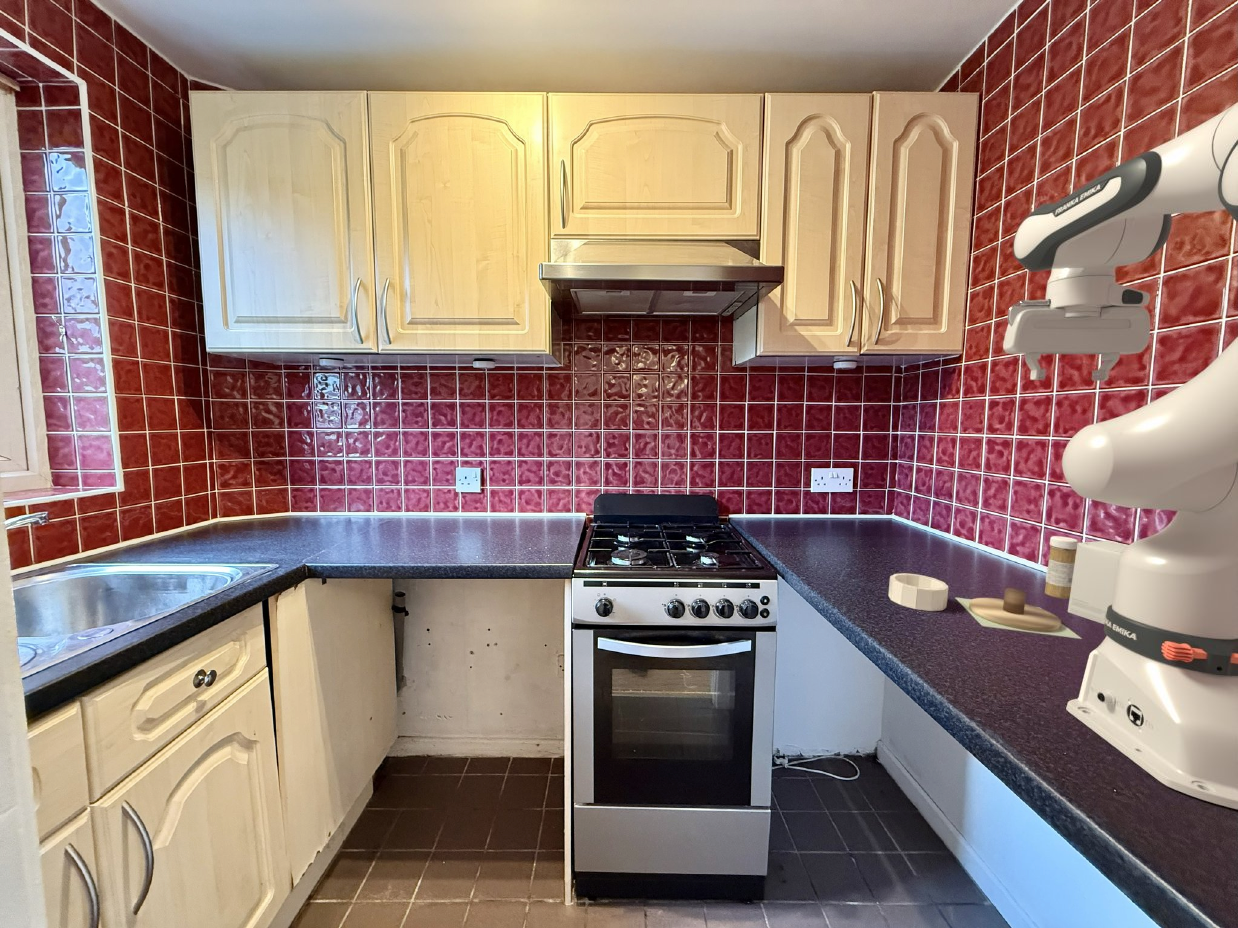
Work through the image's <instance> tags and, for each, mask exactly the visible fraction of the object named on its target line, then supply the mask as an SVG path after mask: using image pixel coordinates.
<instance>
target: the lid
mask: <svg viewBox="0 0 1238 928" xmlns="http://www.w3.org/2000/svg"><path fill="white" fill-rule="evenodd" d="M1026 597H1027V592H1026V591H1024V590H1022V589H1017V588H1011V587H1010V588H1009V587H1007V588H1005V589H1004V597H1003V599H1002V598H996V597H994V598H993V597H977V598H972V600H970V602H969V609H970V611H971V612H972V613H974V614H975V615H977V616H979V617H981V618H983V619H985V620H988V621H991V622H993V623H996V624H1000V625H1003V626H1007V627H1011V628H1016V629H1021V630H1027V631H1035V632H1053V631H1057V630H1059V629H1060V626H1061V623H1062V620H1061V618H1060V617H1058V616H1057V615H1055V614H1054V613H1052V612H1050V611H1048V610H1045V609H1043V608H1041V607H1040V608H1041V609H1040V608H1037V607H1038V606H1034V605H1030V604H1027V603H1026V600H1027V599H1026Z"/></svg>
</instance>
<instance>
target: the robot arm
mask: <svg viewBox="0 0 1238 928" xmlns="http://www.w3.org/2000/svg"><path fill="white" fill-rule="evenodd" d="M1223 210H1226V211H1227V213H1229V215H1230V217H1232V219H1233V220H1234V221H1235V222H1236V223H1237V224H1238V101H1237V102H1236V103H1234V104H1233V105H1231V106H1229V108H1227V109H1225V110H1223V111H1221V112H1220V113H1219V114H1217V115H1215V116H1213V117H1212V118H1210V119H1208V120H1207V121H1204V122H1202V123H1201V124H1199V125H1197V126H1195V127H1194V128H1192V129H1190V130H1189V131H1187V132H1184V133H1183V134H1180V135H1178V136H1177V137H1175V138H1173V139H1171V140H1168V141H1167V142H1164V143H1162V144H1160V145H1159V146H1156V147H1154V148H1152V149H1150V150H1148V151H1145V152H1143V153H1141V154H1139V155H1136V156H1134V157H1132V158H1130V159H1128V160H1127V161H1125V162H1122V163H1120V164H1118V165H1116V166H1115V167H1113V168H1111V169H1110V170H1108V171H1106V172H1104V173H1103V174H1101V175H1100V176H1098V177H1096V178H1094V179H1093V180H1091V181H1090V182H1088V183H1087V184H1085V185H1083V186H1082V187H1080V188H1078V189H1076V190H1075V191H1073V192H1072V193H1070V194H1068V195H1067V196H1065V197H1063V198H1062V199H1060V200H1057V201H1056V202H1050V203H1049V202H1047V203H1046V202H1045V203H1043V204H1041V205H1040V206H1038V207H1037V208H1035V209H1034V210H1033V211H1032V212H1030V213H1029V214H1028V215H1027V216H1026V217H1025V218H1023V220H1022V221H1021V223H1020V224H1019V226H1018V228H1017V229H1016V231H1015V232H1016V233H1015V235H1014V238H1013V241H1012V242H1013V243H1012V254H1013V256H1014V258H1015V259H1016V261H1017V262H1018V263H1019V264H1020V265H1021V266H1022V267H1023V268H1025V269H1026V270H1027V271H1028V272H1031V273H1033V272H1035V273H1036V272H1043V271H1051V273H1050V276H1049V278H1048V279H1047V283H1046V291H1045V299H1035V300H1034V299H1033V300H1030V299H1022V300H1018V302H1015V303H1013V304H1012V305H1011V306H1010V307H1009V309H1008V312H1007V322H1008V324H1007V327H1006V329H1005V330H1006V331H1005V335H1004V337H1003V338H1004V339H1003V344H1002V345H1003V346H1002V347H1003V348H1002V349H1003V350H1004V352H1005V353H1006V354H1009V355H1011V354H1012V355H1013V354H1014V355H1018V354H1019V355H1024V361H1025V363H1026V365H1027V366H1028V369H1029V370H1030V377H1029V378H1030V380H1031V381H1033V380H1034V381H1035V380H1039V381H1041V380H1045V379H1046V374H1047V373H1046V372H1047V368H1042V367H1041V366H1040V363H1039V362H1038V360H1041V359H1042V358H1041V356H1042V355H1101V356H1100V361H1103V363H1102V364H1101V366H1100V367H1099V368H1098V369H1095V370H1092V372H1091V375H1092V376H1091V380H1092V381H1096V382H1097V381H1098V382H1099V381H1100V382H1101V381H1102V382H1103V381H1107V380H1109V376H1110V371H1111V370H1112V368H1113V367H1114V366H1115V365H1116V364H1117V363H1118V361H1119V360H1120V355H1132V354H1139V353H1141V352H1143V351H1144V350H1145V349H1146V348H1147V347H1148V345H1149V342H1150V333H1151V315H1150V312H1149V311H1148V309H1146V308H1145V306H1147V305H1148V304H1149V303H1150V300H1151V294H1150V293H1149V292H1146V291H1144V290H1139V289H1136V288H1132V287H1128V286H1125V285H1122V284H1119V283H1116V278H1117V277H1116V268H1117V267H1122V266H1123V267H1124V266H1131V265H1134V264H1140V263H1142V262H1144V261H1146V260H1148V259H1149V258H1151V257H1152V256H1153V255H1155V254H1156V253H1157V252H1158V251H1160V250H1161V248H1163V247H1164V246H1165V244H1166V243H1167V241H1168V240H1169V237H1170V234H1171V231H1172V230H1171V229H1172V223H1173V217H1172V215H1175V214H1191V213H1205V212H1215V211H1223ZM1061 467H1062V473H1063V475H1064V478H1065V480H1066V482H1067V484H1068V485H1069V486H1070V487H1071V489H1072V490H1073V491H1074V492H1075V493H1076V494H1077V495H1078V496H1079V497H1082V498H1084V499H1089V500H1092V501H1097V502H1100V503H1104V504H1105V503H1106V504H1109V505H1114V506H1119V507H1123V508H1131V509H1144V510H1145V509H1147V510H1160V511H1162V510H1163V511H1175V512H1176V513H1175V515H1174V517H1173V518H1172V520H1171V521H1170V522H1169V523H1168V524H1167V526H1166V527H1164V528H1163V529H1161V530H1160V531H1159V532H1157V533H1156V534H1155V533H1154V534H1153V535H1150V536H1148V537H1144V538H1141V539H1138V540H1136V541H1134V542H1131V543H1130V544H1127V545H1128V546H1127V547H1126V548H1125V549H1124V550H1123V551H1122V553H1121V554H1120V556H1119V559H1118V567H1117V574H1116V581H1115V588H1114V596H1113V603H1112V605H1110V606H1108V608H1107V613H1106V614H1105V617H1104V622H1105V624H1103V625H1104V626H1103V632H1104V634H1105V635H1106V636H1105V638H1104V639H1103V640H1102V642H1101V643H1100V644H1099V645H1098V646H1097V647H1096V648H1095V649H1094V650H1092V651H1091V652H1090V653H1089V655H1088V659H1087V663H1086V666H1085V667H1086V668H1085V670H1084V674H1083V679H1082V683H1081V686H1080V691H1079V694H1078V697H1077V698H1074V699H1071V700H1069V701H1068V702H1067V705H1066V708H1065V709H1066V711H1068V712H1069V714H1071V715H1072V716H1074V717H1075V718H1076V719H1078V720H1079V721H1080V722H1082V723H1083V724H1084V725H1085V726H1086V727H1088V728H1089V729H1091V730H1092V731H1093V732H1094V733H1096V734H1097V735H1098V736H1100V737H1101V738H1102V739H1104V740H1105V741H1106V742H1108V743H1109V744H1110V745H1111V746H1113V747H1114V748H1115V749H1117V750H1118V751H1119V752H1121V753H1122V754H1123V755H1124V756H1126V757H1128V758H1129V759H1130V760H1131V761H1132V762H1134V763H1135V764H1136V765H1137V766H1139V767H1140V768H1141V769H1143V770H1144V771H1145V772H1146V773H1148V774H1150V775H1151V776H1152V777H1154V778H1155V779H1156V780H1157V781H1158V782H1160V783H1161V784H1163V785H1165V786H1166V787H1168V788H1171V789H1173V790H1175V791H1178V792H1181V793H1183V794H1186V795H1188V796H1191V797H1194V798H1197V799H1199V800H1202V801H1206V802H1209V803H1213V804H1216V805H1219V806H1224V807H1226V808H1231V809H1235V810H1238V336H1237V337H1236V338H1235V339H1234V340H1233V341H1232V342H1231V343H1230V344H1229V345H1228V346H1227V347H1226V348H1225V349H1224V350H1223V351H1222V352H1221V353H1220V354H1219V356H1217V357H1216V358H1215V359H1214V360H1213V361H1212V362H1211V363H1210V364H1209V365H1208V366H1207V367H1206V368H1205V369H1203V370H1202V371H1200V372H1199V373H1198V374H1197V375H1196V376H1194V377H1192V379H1190V380H1189V381H1187V382H1185V383H1183V384H1182V385H1180V386H1179V387H1177V388H1175V389H1174V390H1172V391H1170V392H1168V393H1166V394H1165V395H1163V396H1161V397H1159V398H1157V399H1155V400H1154V401H1152V402H1149V403H1148V404H1145V405H1144V406H1141V407H1140V408H1137V409H1136V410H1133V411H1130V412H1128V413H1125V414H1123V415H1119V416H1118V417H1114V418H1111V419H1107V420H1105V421H1100V422H1097V423H1092V424H1088V425H1086V426H1084V427H1083V428H1081V429H1080V430H1079V431H1078V432H1076V433H1075V434H1074V436H1072V438H1071V439H1070V440H1069V441H1068V443H1067V444H1066V447H1065V448H1064V451H1063V455H1062V459H1061Z"/></svg>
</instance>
